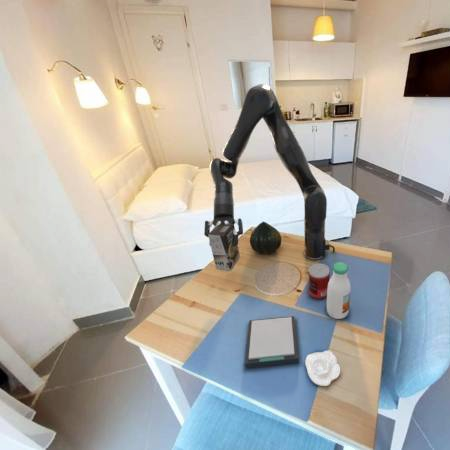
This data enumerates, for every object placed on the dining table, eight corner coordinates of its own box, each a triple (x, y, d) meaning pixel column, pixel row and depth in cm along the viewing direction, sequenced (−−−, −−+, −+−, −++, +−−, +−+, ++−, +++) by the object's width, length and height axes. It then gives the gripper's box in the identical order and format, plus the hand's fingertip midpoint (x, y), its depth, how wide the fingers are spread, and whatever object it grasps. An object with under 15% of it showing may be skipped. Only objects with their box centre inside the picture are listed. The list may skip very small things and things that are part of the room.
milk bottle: (334, 323, 84) (337, 277, 74) (322, 307, 90) (323, 263, 80) (353, 314, 87) (358, 269, 77) (340, 299, 93) (343, 256, 83)
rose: (344, 349, 71) (337, 383, 63) (343, 358, 73) (336, 392, 65) (310, 339, 74) (299, 370, 66) (310, 349, 76) (299, 380, 68)
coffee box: (231, 271, 95) (223, 235, 87) (215, 270, 96) (206, 234, 88) (241, 257, 103) (234, 223, 95) (226, 256, 104) (219, 222, 96)
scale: (294, 320, 85) (294, 314, 84) (298, 363, 72) (298, 356, 70) (250, 325, 84) (249, 318, 82) (246, 368, 71) (244, 362, 69)
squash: (267, 254, 110) (276, 222, 112) (240, 248, 116) (249, 217, 118) (281, 259, 123) (289, 229, 125) (256, 252, 129) (263, 225, 131)
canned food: (330, 287, 99) (331, 265, 94) (326, 301, 92) (326, 278, 87) (312, 283, 101) (312, 261, 96) (306, 297, 95) (306, 274, 89)
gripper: (202, 203, 94) (201, 246, 90) (240, 201, 95) (241, 243, 91) (208, 210, 101) (207, 250, 97) (243, 208, 102) (244, 247, 98)
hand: (224, 246), depth 94 cm, fingers closed on coffee box, 8 cm apart
